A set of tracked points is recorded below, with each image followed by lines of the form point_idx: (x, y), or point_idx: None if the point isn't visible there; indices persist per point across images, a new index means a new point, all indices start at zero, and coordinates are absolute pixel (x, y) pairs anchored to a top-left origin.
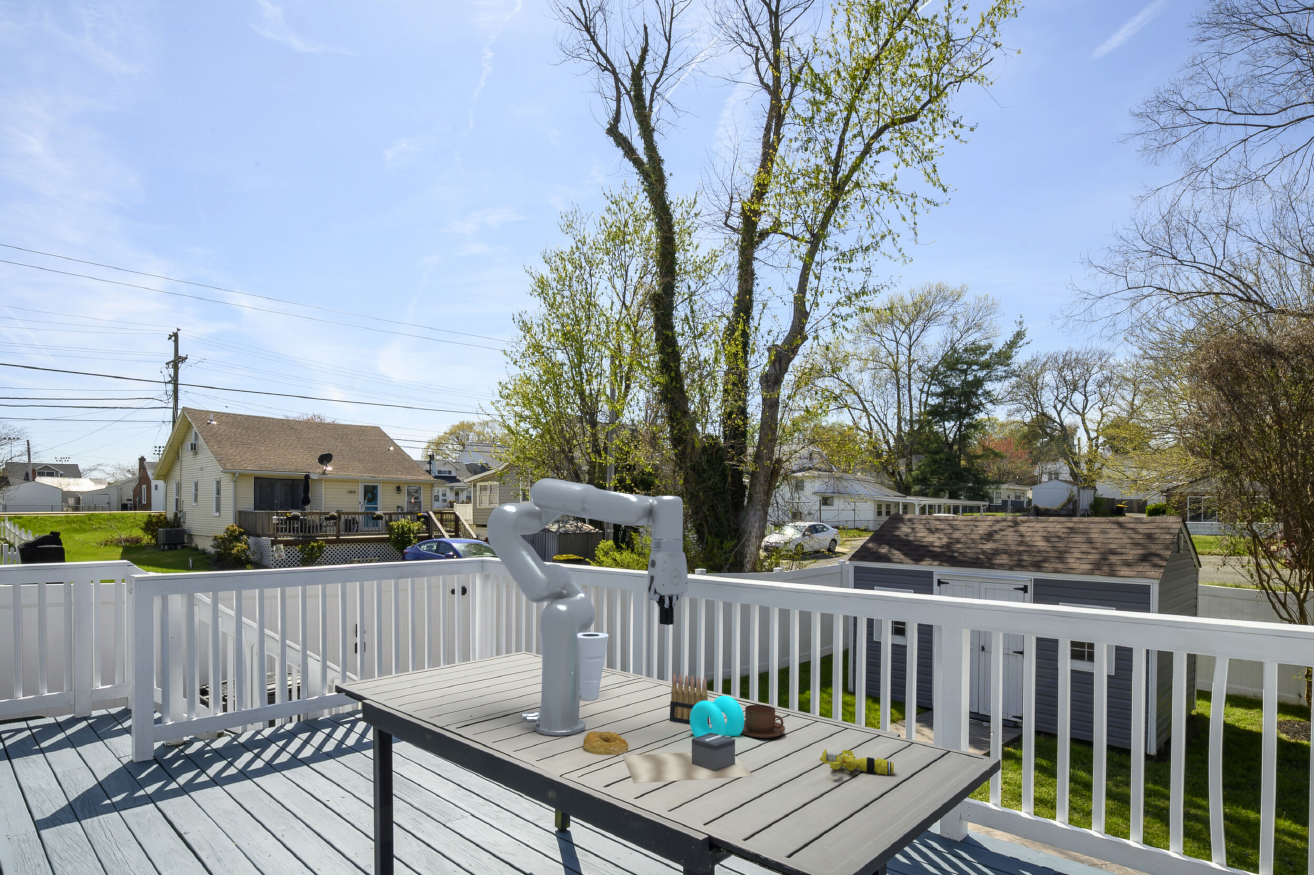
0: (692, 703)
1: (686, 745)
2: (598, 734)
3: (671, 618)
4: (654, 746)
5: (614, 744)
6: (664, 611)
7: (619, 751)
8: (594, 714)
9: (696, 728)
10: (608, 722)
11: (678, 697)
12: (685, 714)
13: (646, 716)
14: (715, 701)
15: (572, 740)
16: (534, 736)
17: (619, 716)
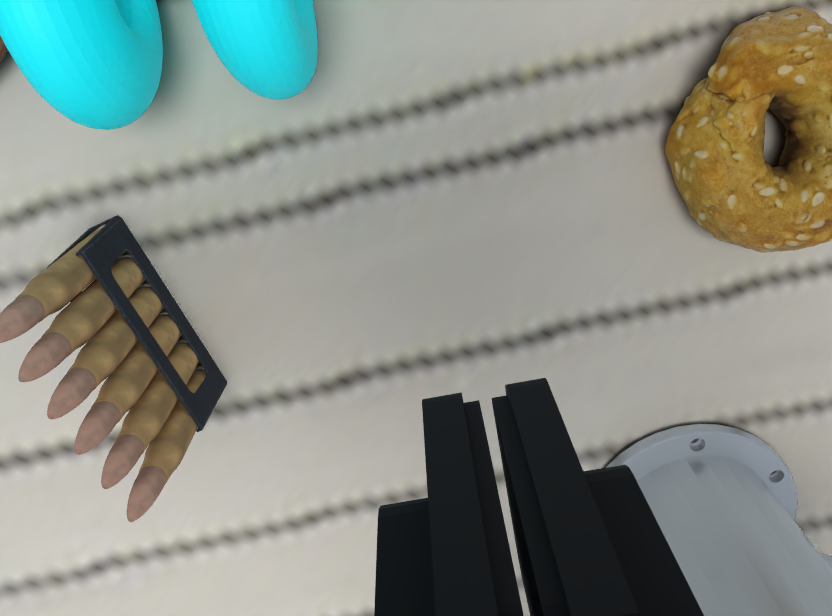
0: (124, 325)
1: (370, 30)
2: (813, 188)
3: (479, 456)
4: (510, 107)
5: (810, 58)
6: (694, 599)
7: (794, 20)
8: None
9: (305, 19)
10: None
11: (167, 406)
12: (168, 332)
13: (281, 484)
14: (97, 59)
15: (740, 366)
16: (817, 478)
17: None
